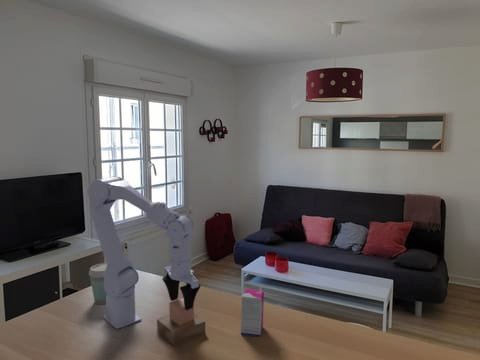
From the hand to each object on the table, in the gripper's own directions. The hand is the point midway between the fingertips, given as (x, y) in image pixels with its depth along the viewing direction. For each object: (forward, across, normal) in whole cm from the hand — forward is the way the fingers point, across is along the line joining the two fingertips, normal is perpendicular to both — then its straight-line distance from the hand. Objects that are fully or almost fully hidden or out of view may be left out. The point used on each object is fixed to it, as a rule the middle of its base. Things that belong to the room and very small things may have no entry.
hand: (181, 304), depth 110 cm
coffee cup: (+8, +34, +9) cm, 36 cm away
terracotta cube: (+4, 0, 0) cm, 5 cm away
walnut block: (+8, -1, +1) cm, 9 cm away
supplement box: (+8, -14, -15) cm, 22 cm away
